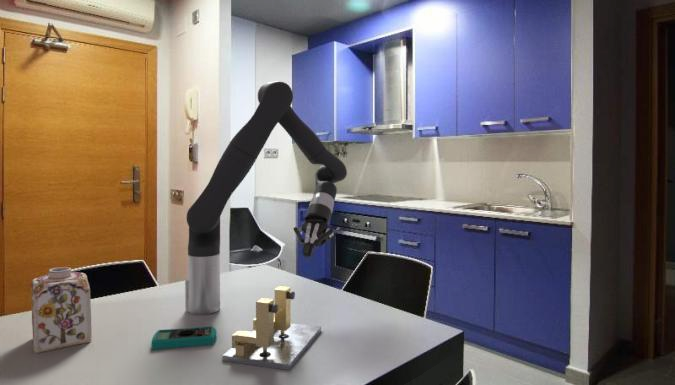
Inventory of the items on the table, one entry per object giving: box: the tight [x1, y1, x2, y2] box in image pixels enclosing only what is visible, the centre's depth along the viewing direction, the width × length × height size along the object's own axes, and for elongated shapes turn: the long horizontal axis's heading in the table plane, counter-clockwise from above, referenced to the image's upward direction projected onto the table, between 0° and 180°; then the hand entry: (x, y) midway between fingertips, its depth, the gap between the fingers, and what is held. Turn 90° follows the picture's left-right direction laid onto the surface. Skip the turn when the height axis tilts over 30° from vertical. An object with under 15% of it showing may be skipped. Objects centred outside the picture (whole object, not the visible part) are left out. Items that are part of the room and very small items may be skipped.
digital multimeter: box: [151, 325, 218, 351], centre depth 105 cm, size 7×15×3 cm, turn 104°
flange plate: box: [221, 322, 322, 371], centre depth 104 cm, size 16×23×1 cm
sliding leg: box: [252, 285, 296, 336], centre depth 105 cm, size 10×3×12 cm, turn 75°
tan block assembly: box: [231, 297, 279, 357], centre depth 104 cm, size 10×22×12 cm, turn 165°
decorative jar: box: [30, 266, 93, 354], centre depth 105 cm, size 12×12×18 cm
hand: (306, 256), depth 122 cm, fingers closed
